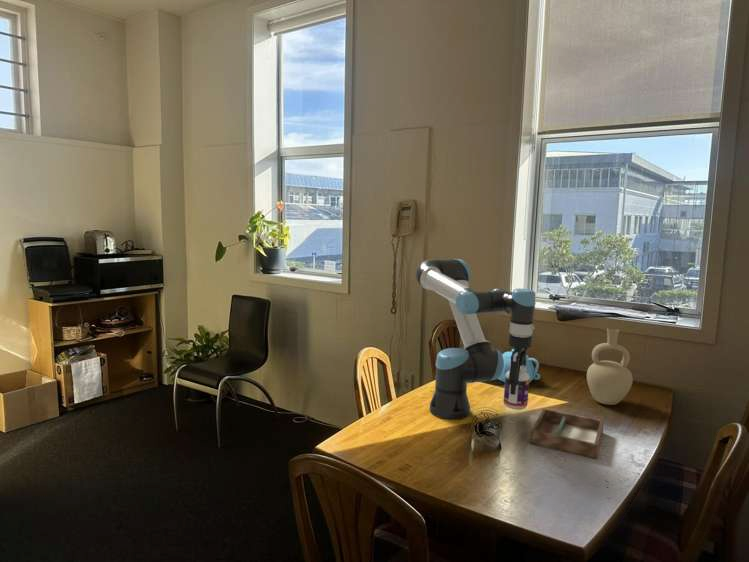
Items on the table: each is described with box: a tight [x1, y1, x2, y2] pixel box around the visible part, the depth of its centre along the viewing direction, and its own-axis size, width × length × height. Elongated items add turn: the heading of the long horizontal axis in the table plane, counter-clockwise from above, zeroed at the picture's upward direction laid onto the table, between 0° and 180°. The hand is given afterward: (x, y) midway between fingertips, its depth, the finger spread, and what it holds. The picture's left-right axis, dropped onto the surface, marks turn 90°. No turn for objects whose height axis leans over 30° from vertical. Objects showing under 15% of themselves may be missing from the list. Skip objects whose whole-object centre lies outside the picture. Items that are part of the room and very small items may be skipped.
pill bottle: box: [503, 365, 530, 411], centre depth 174 cm, size 8×8×14 cm
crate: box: [529, 408, 605, 460], centre depth 169 cm, size 20×22×4 cm
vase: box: [586, 327, 634, 406], centre depth 202 cm, size 17×17×30 cm
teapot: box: [497, 348, 541, 384], centre depth 229 cm, size 19×19×14 cm
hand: (515, 398), depth 175 cm, fingers closed on pill bottle, 8 cm apart
